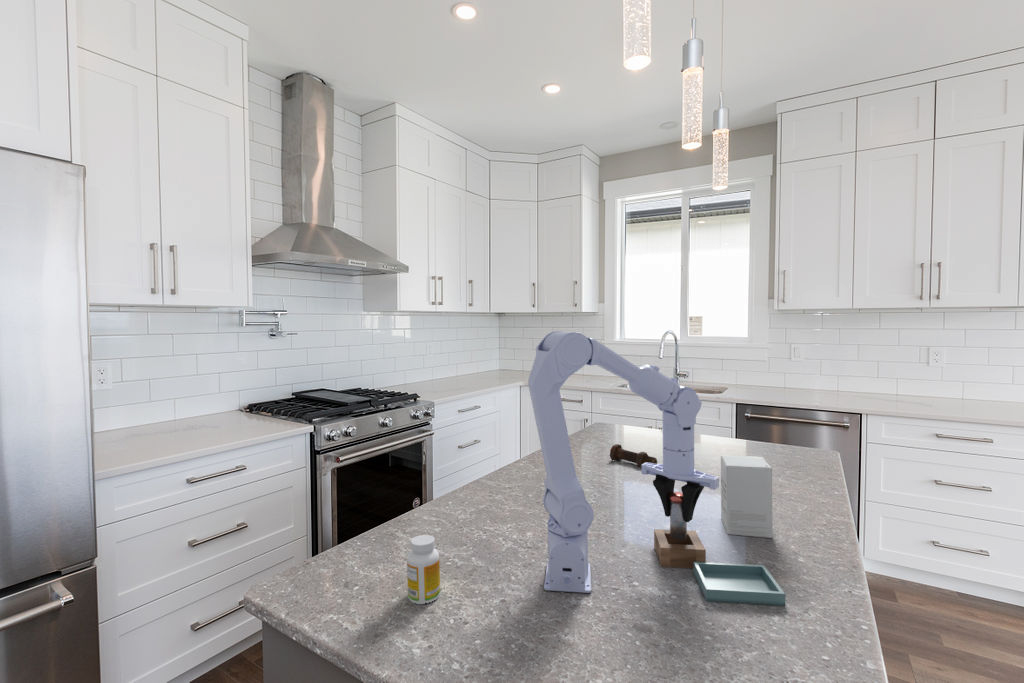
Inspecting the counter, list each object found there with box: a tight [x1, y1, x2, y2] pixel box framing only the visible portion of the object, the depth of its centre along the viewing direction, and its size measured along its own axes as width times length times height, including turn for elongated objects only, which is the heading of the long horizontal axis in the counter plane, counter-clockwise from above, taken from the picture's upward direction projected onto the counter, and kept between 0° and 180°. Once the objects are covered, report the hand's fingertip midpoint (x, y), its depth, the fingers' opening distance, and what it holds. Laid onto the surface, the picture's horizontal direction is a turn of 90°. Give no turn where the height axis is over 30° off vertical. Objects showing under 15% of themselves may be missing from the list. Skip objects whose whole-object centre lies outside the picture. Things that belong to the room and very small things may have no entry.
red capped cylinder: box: [669, 491, 688, 540], centre depth 92 cm, size 3×3×8 cm
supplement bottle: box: [406, 534, 441, 605], centre depth 81 cm, size 5×5×10 cm
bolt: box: [609, 443, 658, 468], centre depth 153 cm, size 6×5×15 cm
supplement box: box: [720, 454, 774, 539], centre depth 105 cm, size 9×9×15 cm
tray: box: [692, 561, 786, 607], centre depth 82 cm, size 9×12×2 cm
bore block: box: [653, 528, 707, 569], centre depth 93 cm, size 8×8×4 cm
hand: (678, 517), depth 93 cm, fingers closed on red capped cylinder, 3 cm apart
